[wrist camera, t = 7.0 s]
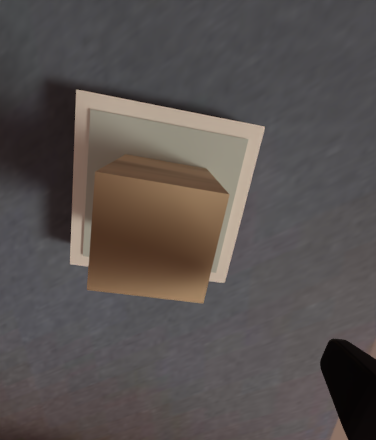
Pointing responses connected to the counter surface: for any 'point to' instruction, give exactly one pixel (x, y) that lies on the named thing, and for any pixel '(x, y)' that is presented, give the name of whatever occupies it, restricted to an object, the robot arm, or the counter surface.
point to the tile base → (160, 158)
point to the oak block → (154, 229)
